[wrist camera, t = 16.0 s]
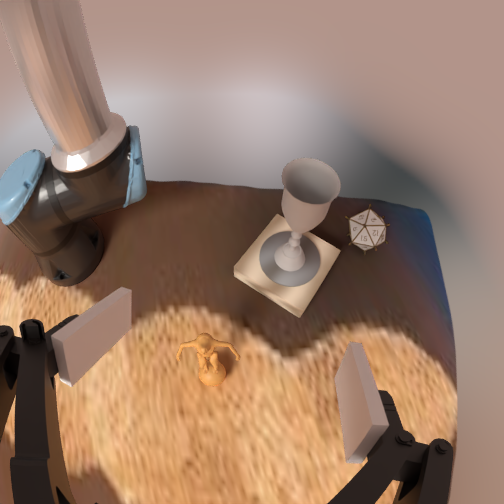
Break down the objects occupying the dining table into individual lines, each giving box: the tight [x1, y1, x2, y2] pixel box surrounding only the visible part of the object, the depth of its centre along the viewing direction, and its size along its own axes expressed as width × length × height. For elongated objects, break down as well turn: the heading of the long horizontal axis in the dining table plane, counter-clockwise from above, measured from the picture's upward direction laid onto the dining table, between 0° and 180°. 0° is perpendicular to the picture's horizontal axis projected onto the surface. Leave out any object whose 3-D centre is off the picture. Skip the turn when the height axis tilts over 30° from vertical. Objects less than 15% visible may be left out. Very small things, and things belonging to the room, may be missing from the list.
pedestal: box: [234, 214, 341, 318], centre depth 49 cm, size 13×13×4 cm
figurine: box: [176, 333, 240, 386], centre depth 37 cm, size 8×6×12 cm
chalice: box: [274, 158, 341, 271], centre depth 39 cm, size 7×7×18 cm
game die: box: [345, 204, 390, 255], centre depth 51 cm, size 9×8×10 cm
